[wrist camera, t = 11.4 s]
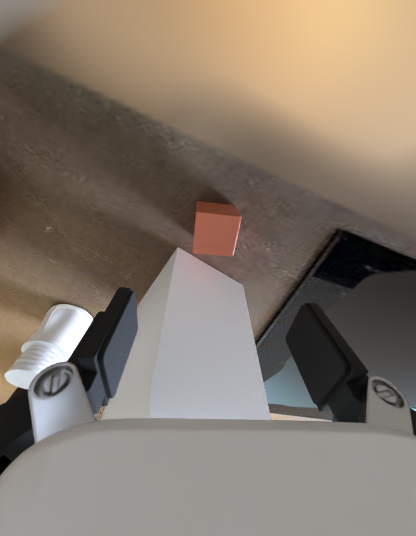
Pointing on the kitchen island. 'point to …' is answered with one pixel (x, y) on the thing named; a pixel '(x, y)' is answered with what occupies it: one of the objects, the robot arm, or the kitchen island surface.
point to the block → (215, 228)
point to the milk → (191, 350)
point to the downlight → (49, 343)
